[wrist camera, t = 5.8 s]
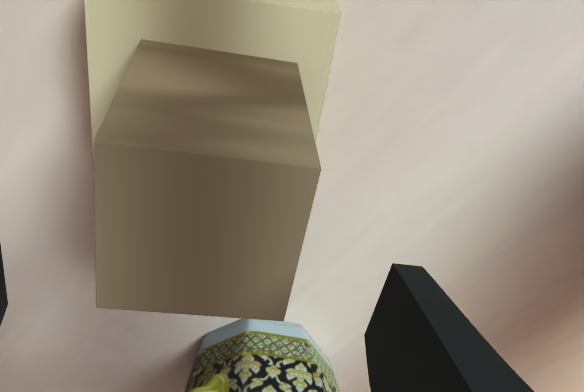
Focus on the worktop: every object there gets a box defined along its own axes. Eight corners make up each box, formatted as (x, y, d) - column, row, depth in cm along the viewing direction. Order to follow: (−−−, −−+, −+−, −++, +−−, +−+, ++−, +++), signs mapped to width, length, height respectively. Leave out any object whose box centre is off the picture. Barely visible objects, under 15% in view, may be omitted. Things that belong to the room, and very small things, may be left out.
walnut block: (297, 62, 16) (321, 168, 11) (272, 188, 19) (283, 321, 14) (140, 39, 16) (93, 141, 11) (136, 173, 18) (96, 307, 13)
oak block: (328, -13, 18) (341, 13, 15) (295, 168, 22) (301, 213, 19) (106, -46, 17) (82, -23, 15) (113, 151, 21) (95, 195, 18)
